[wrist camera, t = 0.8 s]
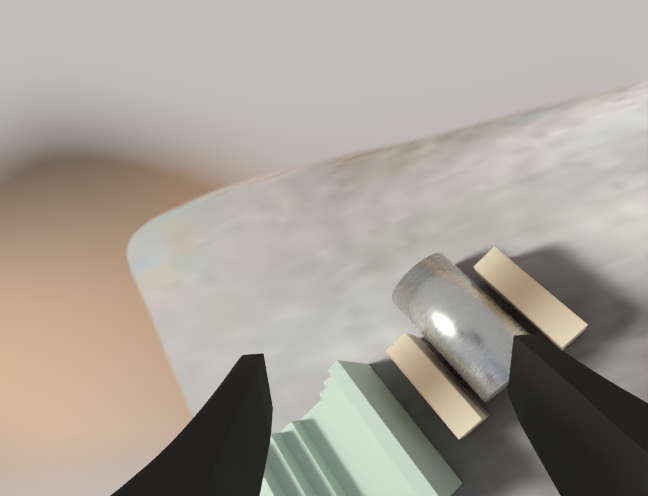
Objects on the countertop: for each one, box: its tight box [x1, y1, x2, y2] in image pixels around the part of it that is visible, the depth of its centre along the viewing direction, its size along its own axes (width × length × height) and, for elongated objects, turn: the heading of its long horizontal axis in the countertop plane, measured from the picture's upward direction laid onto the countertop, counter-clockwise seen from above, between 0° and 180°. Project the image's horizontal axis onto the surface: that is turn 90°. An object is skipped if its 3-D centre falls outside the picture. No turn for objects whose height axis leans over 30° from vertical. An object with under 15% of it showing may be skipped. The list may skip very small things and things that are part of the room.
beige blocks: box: [386, 247, 588, 439], centre depth 23 cm, size 6×8×3 cm
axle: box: [392, 253, 530, 402], centre depth 23 cm, size 7×4×4 cm, turn 39°
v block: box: [260, 360, 462, 496], centre depth 23 cm, size 8×8×4 cm
